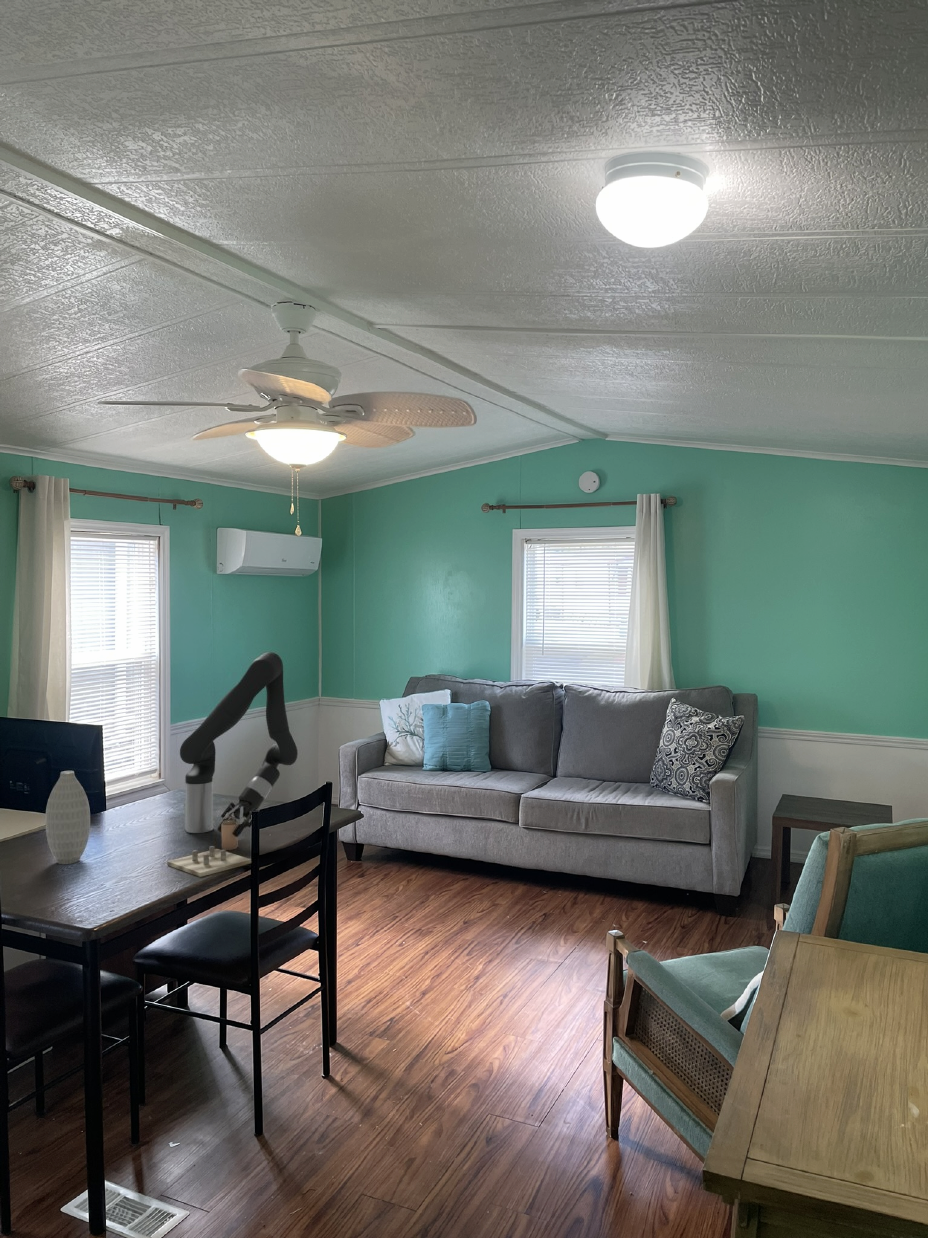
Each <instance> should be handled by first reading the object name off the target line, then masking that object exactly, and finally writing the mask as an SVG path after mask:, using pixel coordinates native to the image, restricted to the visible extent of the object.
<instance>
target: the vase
mask: <svg viewBox="0 0 928 1238" xmlns="http://www.w3.org/2000/svg"><path fill="white" fill-rule="evenodd" d="M59 774H60V775H59V778H58V780H57V781H56V783H55V784H54V786H53V788H52V790H51V792H50V794H49V797H48V799H47V804H46V809H45V833H46V839H47V844H48V847H49V850H50V852H51V854H52V857H54V859H55V861H56V862H57V863H58V864H59V865H71V864H75V863H78V862H79V861H80V860H81V857H82V856H83V855H84V852H85V850H86V847H87V844H88V842H89V841H88V840H89V836H90V829H91V811H90V809H91V808H90V804H89V803H90V802H89V800H88V796H87V794H86V791H85V789H84V788H83V786H82V784H81V783H80V781H79V780H78V778H77V777H76V775H75V771H74V770H64V771H61V772H60V773H59Z"/></svg>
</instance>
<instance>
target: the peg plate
mask: <svg viewBox="0 0 928 1238" xmlns="http://www.w3.org/2000/svg"><path fill="white" fill-rule="evenodd" d="M249 864H252V858H247V857H245V856H241V855H238V854H235V853H232V852H229V851H227V850H224V849H219V848H216V846H215V845H211V846H210V845H209V850H207V851H202V852H200V853H199V850H197V849H195V850H192V851H191V854H190V855H187V856H182V857H180V858H175V859H171V860H167V861H166V865H167V866H169V867H172V868H174V869H177V870H180V871H183V872H185V873H188V874H191V875H194V876H197V877H200V878H201V877H205V876H208V875H212V874H216V873H220V872H224V871H227V870H232V869H235V868H238V867H242V866H243V867H244V866H247V865H249Z"/></svg>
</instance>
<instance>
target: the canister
mask: <svg viewBox="0 0 928 1238" xmlns="http://www.w3.org/2000/svg"><path fill="white" fill-rule="evenodd" d="M222 821H223V820H222ZM220 824H221V823H220ZM238 824H239V823H238V822H237V819H236V820H233V819H230V818H229V820H224V821H223V823H222V824H221V832H222V833H221V832H220V833H221V850H226V851H227V850H228V851H232V850H237V849H238V848H239V839H238V838H239V836H238V837H235V836H234V835H233V834H232V833H233V831H234V830H235V828H236V827H237V826H238ZM237 847H238V848H237Z"/></svg>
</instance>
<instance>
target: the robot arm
mask: <svg viewBox="0 0 928 1238" xmlns="http://www.w3.org/2000/svg"><path fill="white" fill-rule="evenodd" d="M283 663H284V662H283V660H282V658H281V656H280V655H279V654H277V653H275V652H272V651H267V652H264V653H262V654H261V655H260V656H258V657H257V658H256V659H254V660H253V661H252V662H251V664H250V665H249V667H248V668H247V670H246V672H245V673H244V675H243V676H242V678H241V679H240V681H239V682H238V683H237V684H236V685H234V687H233V688H231V689H230V690H229V691H228V692H227V693H226V695H224V697H222V699H221V700H220V701H219V702H218V703H217V705H216V706H215V707H214V709H213V710H212V711H211V712H210V713H209V714H208V715H207V717H206V718H205V719H204V721H203V722H202V723H200V725H199V726H198V728H196V729H195V730H194V731H193V732H192V733H190V735H188V737H187V738H186V739H185V740H183V741H182V743H181V746H180V748H179V756H180V759H181V760H182V762H184V763H185V764H189V765H193V766H192V767H191V769H190V770H189V771H188V772H187V773H186V775H185V779H184V781H185V782H184V783H185V803H184V830H185V831H186V832H187V833H191V834H203V833H206V832H207V833H208V832H211V831H213V830H214V803H213V802H214V794H213V792H214V790H213V785H214V784H213V783H214V782H213V780H214V778H213V777H214V774H215V771H216V744H215V742H214V741H215V740H216V739H218V738H219V737H221V736H222V735H224V734H225V733H226V732H228V731H229V730H231V729H232V728H234V727H235V725H237V724H238V722H239V721H240V720H241V719H242V718H243V717H244V715H246V713H247V711H249V709H250V707H251V705H252V702H253V700H254V699H255V698H256V696H257V695H258V694H259V693H260V692H262V690H264V689H265V688H266V705H265V719H266V721H265V722H266V726H267V731H268V736H269V738H270V739H271V740H273V741H274V742H275V743H273V744H272V745H271V746H270V747H269V748H268V750H267V751H266V754H265V757H264V759H263V760H262V761H263V762H262V763H261V764H262V765H261V767H260V768H259V769H258V771H257V772H256V774H255V775H254V777H253V778H252V779H251V780H249V782H248V784H247V785H246V786H245V788H244V789H243V791H242V792H241V793H240V795H239V796H238V802H237V803H236V804H235V803H234V802H233V801H232V802H230V803H229V804H228V806H227V807H225V810H224V811H223V813H222V814H221V816H220V818H222V821H221V823H220V824H219V825H218V827H217V831H218V832H219V833H221V834H222V832H221V824H222V823H223V821H224V820H229V819H233V820H236V821H237V820H239V823H238V826H237V827H236V828H235V830H234V831H233V833H232V834H233V835H234V836H235V837H238V838H239V836H241V834H242V832H243V830H244V829H246V828H247V827H248V828H251V827H252V825H253V824H252V820H251V815H252V812H253V811H256V810H258V809H260V806H261V805H262V803H263V802H264V801H265V800H266V798H267V796H268V795H269V794H270V792H271V790H272V788H273V787H274V785H275V784H276V783H277V781H278V779H279V777H280V776H281V773H280V771H279V770H278V766H279V764H280V765H283V766H291V765H293V764H295V763H296V761H297V759H298V748H297V745H296V742H295V740H294V738H293V736H292V734H291V733H292V732H290V727H289V721H288V715H287V709H286V703H285V690H284V689H285V688H284V665H283ZM258 811H259V810H258Z"/></svg>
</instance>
